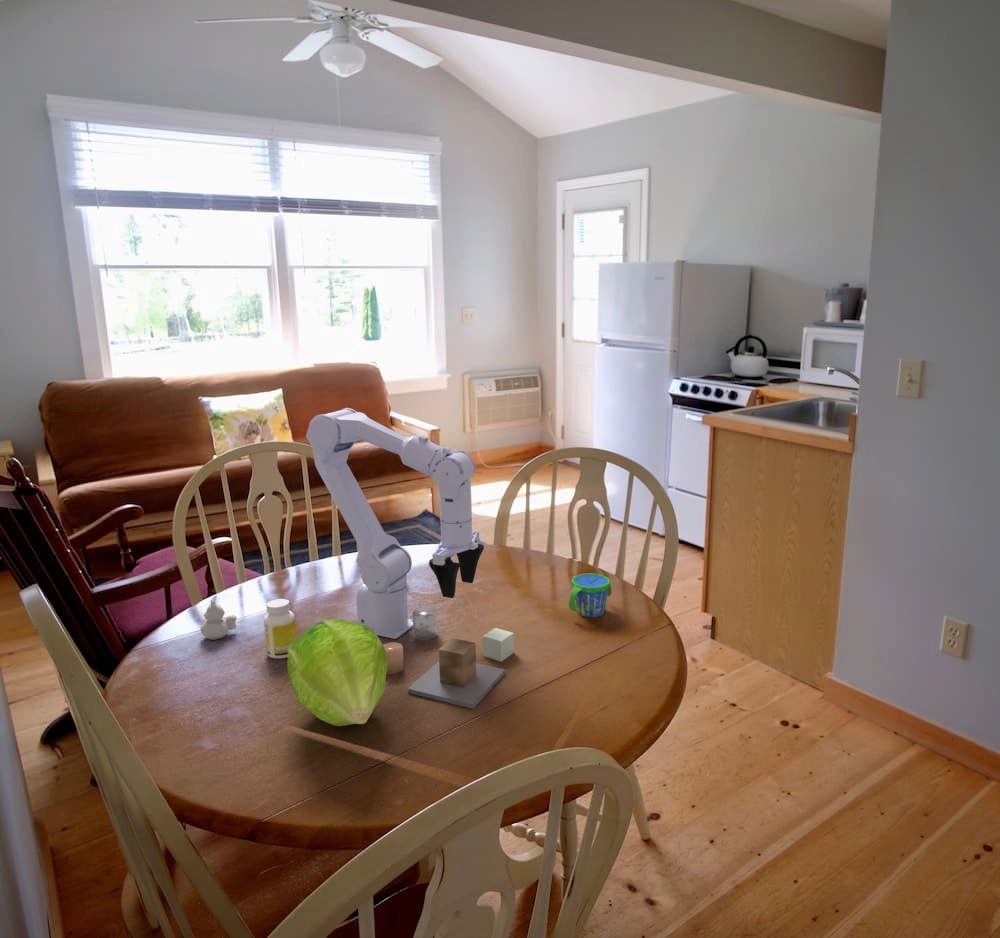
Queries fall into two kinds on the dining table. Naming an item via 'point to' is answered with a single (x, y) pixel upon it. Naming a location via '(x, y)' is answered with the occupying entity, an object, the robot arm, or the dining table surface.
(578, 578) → the snack cup
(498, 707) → the dining table surface
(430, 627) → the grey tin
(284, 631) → the supplement bottle
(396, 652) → the peach rounded cylinder
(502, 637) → the pale green block
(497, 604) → the dining table surface
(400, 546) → the robot arm
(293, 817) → the dining table surface
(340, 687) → the lettuce
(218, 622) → the grey rounded figure
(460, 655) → the walnut block
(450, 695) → the slate coaster
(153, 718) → the dining table surface
